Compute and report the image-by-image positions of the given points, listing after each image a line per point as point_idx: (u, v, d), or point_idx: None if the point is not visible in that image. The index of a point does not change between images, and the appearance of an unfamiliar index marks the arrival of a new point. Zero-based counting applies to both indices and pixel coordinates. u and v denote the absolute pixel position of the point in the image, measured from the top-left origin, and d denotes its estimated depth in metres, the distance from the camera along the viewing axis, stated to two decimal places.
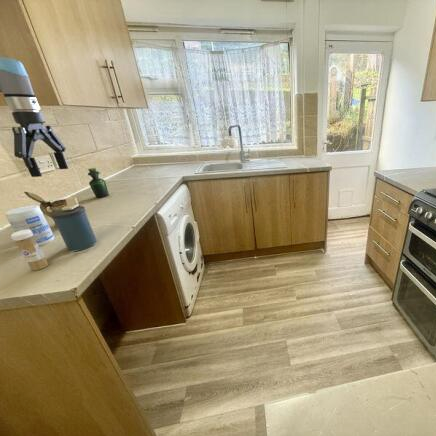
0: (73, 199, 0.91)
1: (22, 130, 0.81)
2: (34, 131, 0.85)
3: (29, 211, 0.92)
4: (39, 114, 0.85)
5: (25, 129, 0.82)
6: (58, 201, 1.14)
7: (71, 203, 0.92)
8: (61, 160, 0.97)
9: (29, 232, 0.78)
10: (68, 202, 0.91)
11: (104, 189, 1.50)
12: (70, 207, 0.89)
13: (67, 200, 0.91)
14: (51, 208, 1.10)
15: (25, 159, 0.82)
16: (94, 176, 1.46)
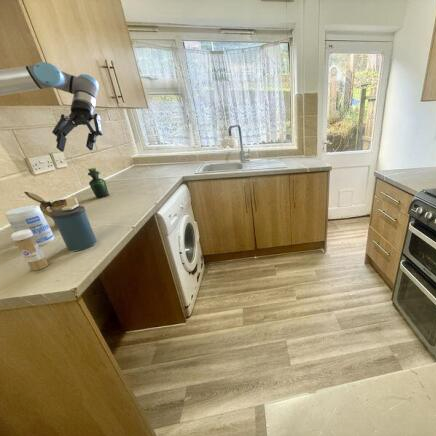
0: (73, 199, 0.91)
1: None
2: None
3: (29, 211, 0.92)
4: None
5: None
6: (58, 201, 1.14)
7: (71, 203, 0.92)
8: (63, 143, 0.98)
9: (29, 232, 0.78)
10: (68, 202, 0.91)
11: (104, 189, 1.50)
12: (70, 207, 0.89)
13: (67, 200, 0.91)
14: (51, 208, 1.10)
15: (95, 135, 1.00)
16: (94, 176, 1.46)
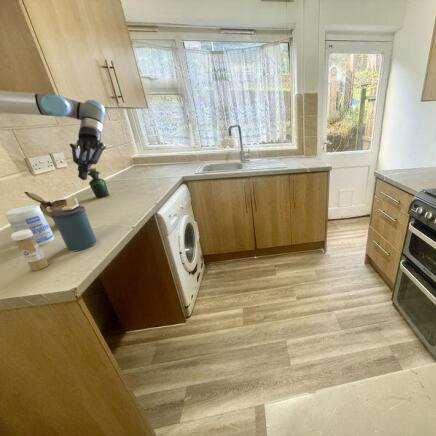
0: (73, 199, 0.91)
1: None
2: None
3: (29, 211, 0.92)
4: None
5: None
6: (58, 201, 1.14)
7: (71, 203, 0.92)
8: None
9: (29, 232, 0.78)
10: (68, 202, 0.91)
11: (104, 189, 1.50)
12: (70, 207, 0.89)
13: (67, 200, 0.91)
14: (51, 208, 1.10)
15: (89, 165, 1.01)
16: (94, 176, 1.46)
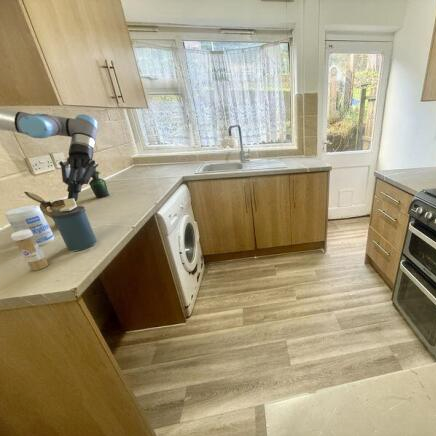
0: (71, 200, 0.90)
1: None
2: None
3: (29, 211, 0.92)
4: None
5: None
6: (58, 201, 1.14)
7: (69, 204, 0.91)
8: None
9: (29, 232, 0.78)
10: (66, 203, 0.90)
11: (104, 189, 1.50)
12: (68, 208, 0.88)
13: (65, 201, 0.90)
14: (51, 208, 1.10)
15: (80, 185, 0.95)
16: (94, 176, 1.46)
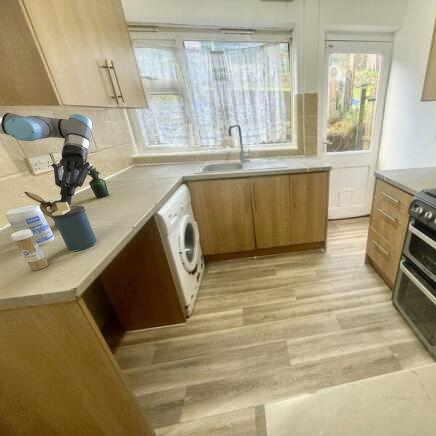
0: (64, 204, 0.87)
1: None
2: None
3: (29, 211, 0.92)
4: None
5: None
6: (58, 201, 1.14)
7: (62, 208, 0.87)
8: None
9: (29, 232, 0.78)
10: (59, 207, 0.87)
11: (104, 189, 1.50)
12: (61, 212, 0.85)
13: (58, 205, 0.87)
14: (51, 208, 1.10)
15: (73, 187, 0.91)
16: (94, 176, 1.46)
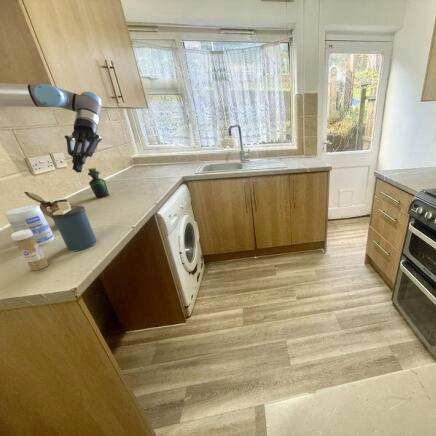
0: (65, 203, 0.87)
1: None
2: None
3: (29, 211, 0.92)
4: None
5: None
6: (58, 201, 1.14)
7: (63, 207, 0.88)
8: None
9: (29, 232, 0.78)
10: (60, 206, 0.87)
11: (104, 189, 1.50)
12: (62, 212, 0.85)
13: (59, 204, 0.87)
14: (51, 208, 1.10)
15: (84, 157, 0.99)
16: (94, 176, 1.46)
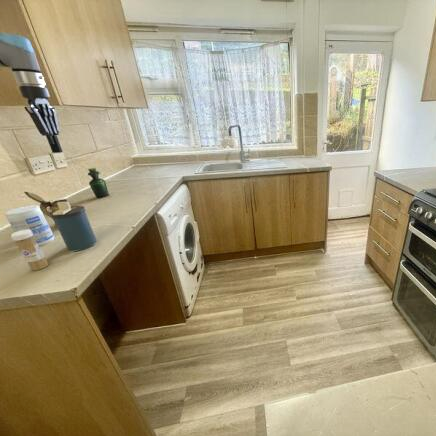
0: (65, 203, 0.87)
1: (34, 109, 0.88)
2: (41, 107, 0.90)
3: (29, 211, 0.92)
4: (45, 89, 0.90)
5: (34, 105, 0.88)
6: (58, 201, 1.14)
7: (63, 207, 0.88)
8: None
9: (29, 232, 0.78)
10: (60, 206, 0.87)
11: (104, 189, 1.50)
12: (62, 212, 0.85)
13: (59, 204, 0.87)
14: (51, 208, 1.10)
15: (48, 136, 0.94)
16: (94, 176, 1.46)
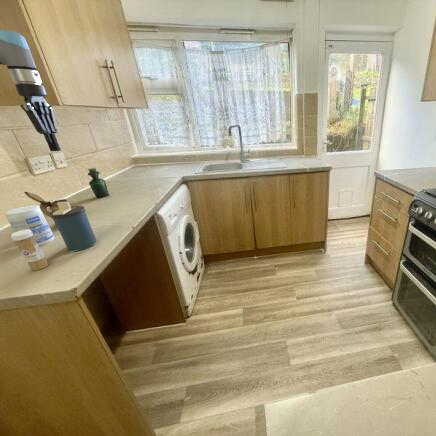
0: (65, 203, 0.87)
1: (31, 108, 0.87)
2: (38, 105, 0.90)
3: (29, 211, 0.92)
4: (41, 87, 0.89)
5: (30, 103, 0.87)
6: (58, 201, 1.14)
7: (63, 207, 0.88)
8: None
9: (29, 232, 0.78)
10: (60, 206, 0.87)
11: (104, 189, 1.50)
12: (62, 212, 0.85)
13: (59, 204, 0.87)
14: (51, 208, 1.10)
15: (45, 135, 0.93)
16: (94, 176, 1.46)
